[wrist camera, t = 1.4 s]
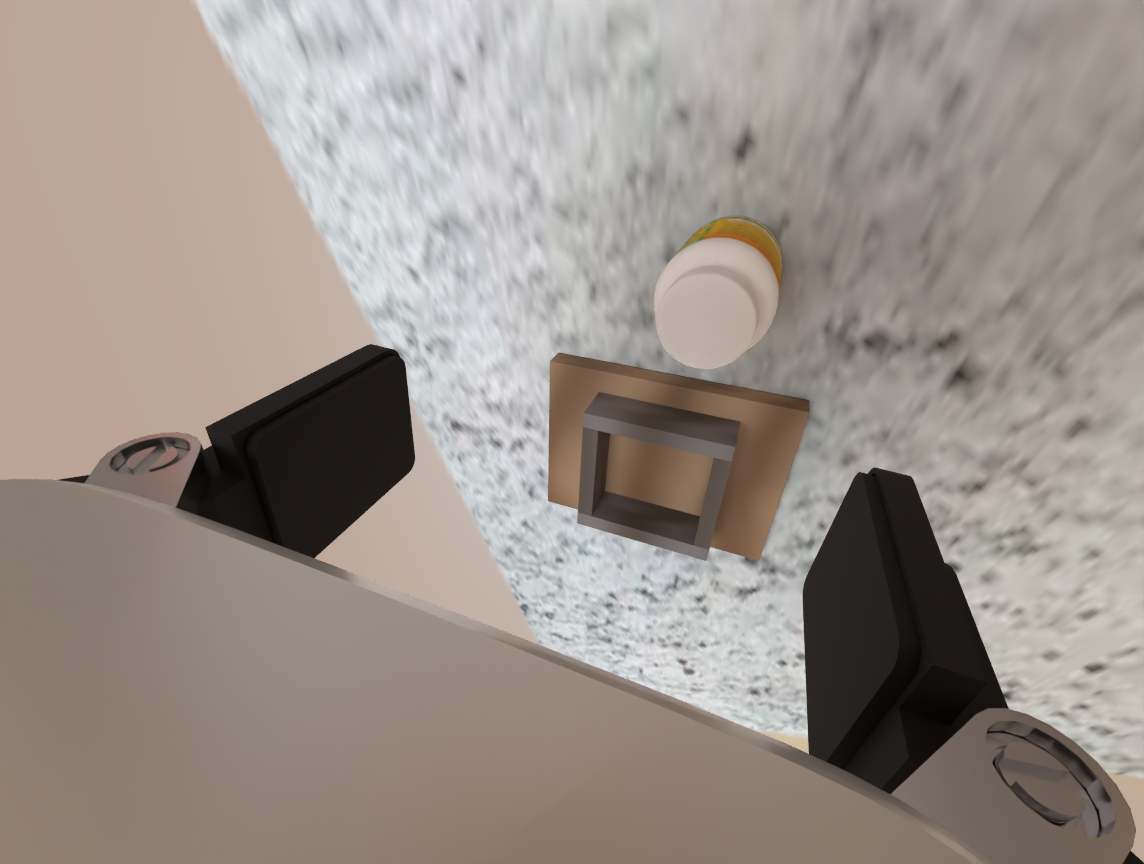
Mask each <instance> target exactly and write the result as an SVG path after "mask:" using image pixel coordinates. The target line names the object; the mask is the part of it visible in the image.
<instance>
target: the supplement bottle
mask: <svg viewBox="0 0 1144 864" xmlns="http://www.w3.org/2000/svg"><path fill="white" fill-rule="evenodd" d="M781 275H782V254H781V250H780V247H779V244H778V242H777V240H776V238H775V237H774V235H773V234H772V233H771V232H770V231H769V230H768V229H767V228H766V227H765V226H764V225H762V224H761V223H759V222H758V221H756V220H753V219H750V218H747V217H741V216H728V217H722V218H719V219H716V220H714V221H711V222H709V223H708V224H706V225H704V226H703V227H702V228H700V229H699V230H698V231H697V232H696V233H695V234H694V235H693V236H692V237H691V238H690V239H689V240H688V241H687V242H686V244H685V245H684V246H683V247H682V248H681V249H680V250H679V251H678V253H677V254H676V255H675V256H674V257H673V258H672V259H671V260H670V261H669V263H668V264H667V265H666V267H665V268H664V270H663V271H662V273H661V275H660V277H659V279H658V282H657V285H656V288H655V293H654V312H655V317H656V330H657V334H658V337H659V340H660V342H661V344H662V346H663V347H664V349H665V350H666V351H667V353H668V354H669V355H671V356H672V357H673V358H674V359H675V360H677V361H678V362H680V363H682V364H684V365H686V366H689V367H693V368H697V369H714V368H719V367H722V366H725V365H727V364H730V363H731V362H733V361H735V360H736V359H737V358H739V357H740V356H741V355H742V354H743V353H744V352H745V351H747V350H749V349H750V348H751V347H753V346H754V345H755V344H756V343H758V342H759V341H760V340H761V339H762V338H763V336H764V335H765V334H766V333H767V331H768V330H769V328H770V326H771V324H772V322H773V320H774V317H775V314H776V311H777V307H778V302H779V292H780V283H781Z"/></svg>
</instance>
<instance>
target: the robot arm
mask: <svg viewBox="0 0 1144 864" xmlns="http://www.w3.org/2000/svg"><path fill="white" fill-rule="evenodd" d="M206 430H207V433H208V436H209V439H210V441H211V444H212V446H210V447H208V448H206V449H205V450H203V448H202V445H201V443H200V441H199V440H198V439H197V438H196V437H194V436H192V435H190V434H184V433H178V432H176V433H160V434H154V435H148V436H145V437H141V438H138V439H134V440H131V441H129V442H127V443H124V444H122V445H119V446H118V447H116V448H114V449H113V450H111V451H110V452H108V453H107V454H106V455H105V456H104V457H103V458H102V459H101V460H100V461H99V463H98V464H97V465H96V467H95V468H94V470H93V471H92V473H91V474H90V475H87V476H79V477H74V478H67V479H60V480H42V479H41V480H40V479H9V480H0V864H1144V863H1143V862H1142V861H1141V860H1140V859H1139V858H1138V857H1137V856H1135V855H1134V853H1132V852H1131V851H1130V850H1131V848H1132V847H1133V843H1134V838H1135V833H1136V828H1135V824H1134V820H1133V817H1132V813H1131V809H1130V807H1129V805H1128V804H1127V802H1126V800H1125V799H1124V797H1123V795H1122V793H1121V792H1120V790H1119V788H1118V787H1117V785H1116V784H1115V783H1114V781H1113V780H1112V779H1111V778H1110V777H1109V775H1108V774H1107V773H1106V772H1105V771H1104V770H1103V768H1102V767H1101V766H1100V765H1099V764H1098V763H1097V761H1095V760H1094V759H1093V758H1092V757H1091V756H1090V755H1089V754H1088V753H1086V752H1085V751H1084V750H1083V749H1082V748H1081V747H1080V746H1079V745H1077V744H1076V743H1075V742H1074V741H1073V740H1071V739H1070V738H1068V737H1067V736H1065V735H1064V734H1062V733H1061V732H1059V731H1058V730H1056V729H1055V728H1053V727H1052V726H1050V725H1048V724H1046V723H1044V722H1042V721H1040V720H1038V719H1036V718H1034V717H1032V716H1030V715H1028V714H1025V713H1021V712H1018V711H1014V710H1010V709H1008V706H1007V703H1006V701H1005V698H1004V696H1003V693H1002V691H1001V688H1000V685H999V683H998V680H997V678H996V675H995V673H994V670H993V668H992V665H991V662H990V660H989V657H988V655H987V652H986V650H985V647H984V644H983V642H982V639H981V637H980V634H979V632H978V629H977V626H976V624H975V621H974V619H973V616H972V614H971V611H970V608H969V606H968V603H967V601H966V598H965V596H964V593H963V591H962V588H961V585H960V583H959V580H958V578H957V575H956V573H955V572H954V570H953V568H952V567H951V566H949V565H948V564H946V563H944V561H943V558H942V555H941V553H940V550H939V547H938V545H937V542H936V539H935V536H934V534H933V531H932V528H931V526H930V523H929V520H928V518H927V515H926V512H925V510H924V507H923V504H922V502H921V499H920V496H919V493H918V491H917V488H916V485H915V483H914V480H913V479H912V477H911V476H907V475H903V474H899V473H895V472H891V471H887V470H883V469H879V468H873V469H871V470H870V472H869V473H868V474H865V473H861V472H859V473H857V475H856V476H855V478H854V479H853V481H852V483H851V486H850V488H849V490H848V492H847V494H846V496H845V498H844V500H843V502H842V504H841V506H840V508H839V510H838V512H837V515H836V517H835V519H834V521H833V523H832V525H831V527H830V529H829V531H828V533H827V535H826V537H825V539H824V541H823V544H822V546H821V548H820V550H819V552H818V554H817V556H816V558H815V560H814V562H813V564H812V566H811V568H810V570H809V573H808V575H807V577H806V580H805V583H804V588H803V617H804V642H805V667H806V692H807V718H808V743H809V754H807V753H805V752H803V751H801V750H799V749H796V748H794V747H792V746H790V745H787V744H785V743H783V742H781V741H778V740H776V739H773V738H771V737H769V736H766V735H764V734H761V733H759V732H756V731H754V730H751V729H749V728H747V727H744V726H742V725H739V724H737V723H734V722H732V721H729V720H727V719H725V718H722V717H720V716H717V715H715V714H712V713H710V712H707V711H705V710H703V709H700V708H698V707H695V706H693V705H690V704H688V703H685V702H683V701H681V700H678V699H676V698H673V697H671V696H668V695H666V694H663V693H661V692H658V691H656V690H653V689H650V688H648V687H645V686H643V685H640V684H638V683H635V682H633V681H630V680H627V679H625V678H622V677H620V676H617V675H615V674H612V673H609V672H607V671H604V670H602V669H599V668H597V667H594V666H592V665H589V664H586V663H584V662H581V661H579V660H576V659H574V658H571V657H569V656H566V655H563V654H561V653H558V652H556V651H553V650H551V649H548V648H546V647H543V646H540V645H538V644H535V643H533V642H530V641H528V640H525V639H522V638H520V637H517V636H515V635H512V634H509V633H507V632H505V631H502V630H499V629H497V628H494V627H492V626H489V625H486V624H484V623H481V622H478V621H476V620H473V619H471V618H468V617H465V616H463V615H460V614H458V613H455V612H453V611H450V610H447V609H444V608H442V607H439V606H437V605H434V604H432V603H429V602H427V601H424V600H421V599H419V598H416V597H413V596H411V595H408V594H406V593H403V592H401V591H398V590H395V589H393V588H390V587H388V586H385V585H382V584H380V583H377V582H374V581H372V580H369V579H367V578H364V577H361V576H359V575H356V574H354V573H351V572H348V571H346V570H343V569H340V568H338V567H335V566H332V565H330V564H327V563H325V562H322V561H319V560H316V559H314V558H315V557H316V556H317V555H318V554H319V553H321V552H322V551H323V550H324V549H325V548H326V547H327V546H328V545H329V544H330V543H331V542H333V541H334V540H335V539H336V538H337V537H338V536H339V535H340V534H342V533H343V532H344V531H345V530H346V529H347V528H348V527H349V526H350V525H351V524H353V523H354V522H355V521H356V520H357V519H358V518H359V517H360V516H361V515H362V514H364V513H365V512H366V511H367V510H368V509H369V508H370V507H371V506H373V505H374V504H375V503H376V502H377V501H378V500H379V499H380V498H381V497H382V496H384V495H385V494H386V493H387V492H388V491H389V490H390V489H391V488H392V487H393V486H395V485H396V484H397V483H398V482H399V481H400V480H401V479H402V478H403V477H405V476H406V475H407V474H408V473H409V472H410V471H411V469H412V467H413V465H414V461H415V453H414V443H413V433H412V425H411V414H410V405H409V396H408V386H407V377H406V367H405V362H404V361H403V359H401V358H400V356H399V354H398V352H397V351H395V350H393V349H389V348H385V347H381V346H377V345H372V344H370V345H367V346H365V347H363V348H361V349H359V350H357V351H355V352H353V353H351V354H349V355H347V356H345V357H343V358H341V359H339V360H337V361H335V362H333V363H331V364H329V365H327V366H325V367H323V368H321V369H319V370H317V371H315V372H313V373H311V374H309V375H307V376H306V377H304V378H302V379H300V380H298V381H296V382H294V383H292V384H290V385H288V386H286V387H284V388H282V389H280V390H278V391H276V392H274V393H272V394H270V395H268V396H266V397H264V398H262V399H260V400H258V401H256V402H254V403H252V404H250V405H249V406H247V407H245V408H243V409H241V410H239V411H237V412H235V413H233V414H231V415H229V416H227V417H225V418H223V419H221V420H219V421H217V422H215V423H213V424H211V425H209V426H207V427H206Z"/></svg>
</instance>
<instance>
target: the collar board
mask: <svg viewBox="0 0 1144 864" xmlns="http://www.w3.org/2000/svg"><path fill="white" fill-rule="evenodd" d="M808 415H809V401H808V400H803V399H798V398H792V397H787V396H782V395H777V394H772V393H766V392H761V391H756V390H751V389H745V388H740V387H735V386H730V385H725V384H719V383H714V382H709V381H704V380H698V379H693V378H688V377H683V376H678V375H672V374H667V373H662V372H657V371H651V370H646V369H641V368H636V367H630V366H625V365H620V364H615V363H610V362H604V361H599V360H594V359H589V358H583V357H578V356H573V355H568V354H563V353H558V354H557V355H556V356H555V357H554V358H553V359H552V360H551V361H550V410H549V477H548V501H550V502H554V503H557V504H561V505H564V506H568V507H571V508H575V509H578V520H577V523H578V524H582V525H585V526H589V527H592V528H596V529H599V530H602V531H606V532H609V533H613V534H616V535H620V536H623V537H626V538H630V539H633V540H637V541H640V542H644V543H647V544H650V545H654V546H657V547H661V548H664V549H668V550H671V551H674V552H678V553H681V554H685V555H688V556H692V557H695V558H698V559H702V560H705V561H706V560H707V556H708V552H709V548H710V547H713V548H716V549H720V550H723V551H727V552H730V553H734V554H737V555H741V556H744V557H748V558H751V559H755V560H758V561H759V560H760V557H761V554H762V551H763V548H764V545H765V542H766V539H767V536H768V533H769V530H770V527H771V524H772V521H773V518H774V515H775V512H776V509H777V507H778V504H779V501H780V498H781V495H782V492H783V489H784V486H785V483H786V480H787V477H788V474H789V471H790V468H791V465H792V462H793V459H794V456H795V453H796V450H797V447H798V445H799V442H800V439H801V436H802V433H803V430H804V427H805V424H806V421H807V418H808Z"/></svg>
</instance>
